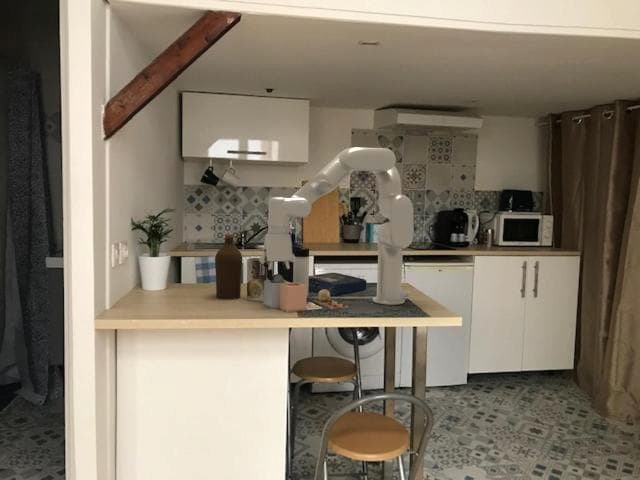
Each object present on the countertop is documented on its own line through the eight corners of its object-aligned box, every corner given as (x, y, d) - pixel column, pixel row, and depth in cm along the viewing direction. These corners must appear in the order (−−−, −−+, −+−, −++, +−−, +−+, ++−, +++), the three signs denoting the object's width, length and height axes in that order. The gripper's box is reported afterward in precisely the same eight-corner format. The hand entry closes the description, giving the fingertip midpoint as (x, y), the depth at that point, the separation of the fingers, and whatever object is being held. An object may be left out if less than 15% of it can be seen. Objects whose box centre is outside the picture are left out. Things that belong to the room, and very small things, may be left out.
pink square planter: (297, 306, 187) (298, 282, 186) (306, 310, 180) (306, 285, 179) (279, 307, 183) (279, 283, 183) (287, 312, 177) (287, 286, 176)
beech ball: (326, 299, 198) (326, 288, 197) (332, 301, 193) (332, 290, 193) (315, 300, 195) (316, 288, 195) (321, 302, 191) (321, 290, 191)
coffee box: (274, 299, 198) (275, 258, 196) (266, 302, 192) (266, 260, 191) (254, 297, 202) (255, 257, 200) (245, 299, 196) (246, 258, 194)
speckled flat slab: (328, 300, 199) (328, 296, 199) (348, 308, 186) (348, 304, 186) (312, 301, 196) (313, 297, 196) (332, 309, 183) (332, 306, 182)
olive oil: (231, 300, 193) (232, 236, 191) (209, 297, 198) (209, 234, 196) (247, 296, 202) (248, 234, 200) (225, 293, 207) (226, 232, 205)
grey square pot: (282, 302, 192) (282, 279, 191) (290, 306, 186) (290, 282, 185) (263, 304, 189) (264, 280, 188) (271, 308, 182) (271, 283, 181)
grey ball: (280, 284, 190) (280, 272, 189) (285, 287, 185) (285, 274, 185) (269, 285, 187) (269, 273, 187) (274, 287, 183) (274, 275, 183)
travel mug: (302, 299, 199) (303, 249, 198) (289, 297, 203) (290, 247, 201) (311, 297, 204) (313, 248, 202) (299, 295, 208) (300, 246, 206)
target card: (310, 303, 193) (310, 299, 193) (322, 309, 184) (322, 304, 184) (295, 305, 190) (295, 300, 190) (307, 310, 181) (307, 305, 181)
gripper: (295, 229, 192) (294, 276, 193) (252, 230, 184) (252, 279, 186) (303, 231, 185) (302, 280, 187) (260, 231, 177) (259, 282, 179)
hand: (277, 279), depth 186 cm, fingers open, 5 cm apart
